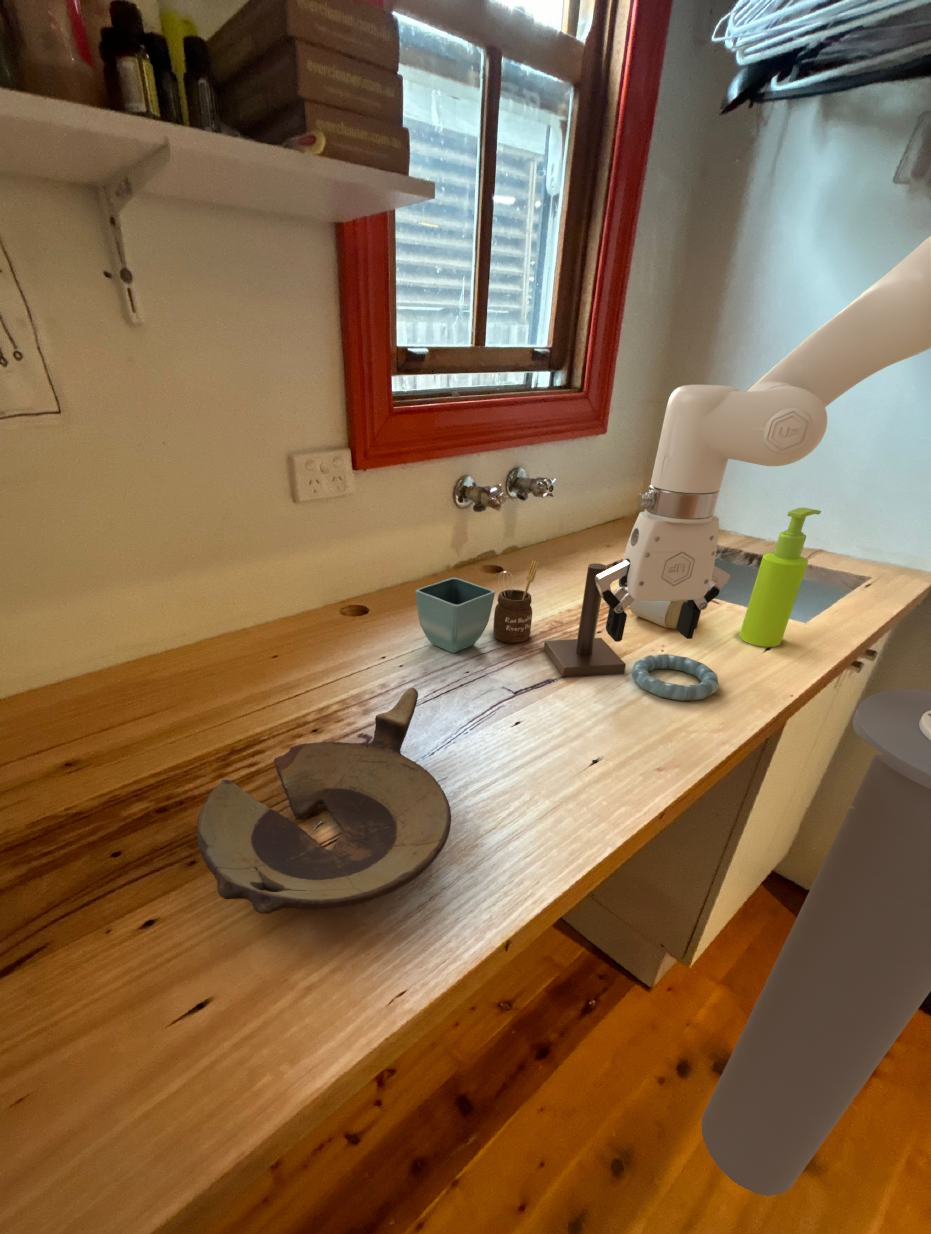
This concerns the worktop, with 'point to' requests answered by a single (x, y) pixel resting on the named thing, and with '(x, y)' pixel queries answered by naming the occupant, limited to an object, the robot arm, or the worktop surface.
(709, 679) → the ring
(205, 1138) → the worktop surface
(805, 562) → the soap dispenser
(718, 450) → the robot arm
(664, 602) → the ceramic mug
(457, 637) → the flower pot
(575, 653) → the peg stand
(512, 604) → the utensil holder
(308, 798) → the oil lamp
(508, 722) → the worktop surface
